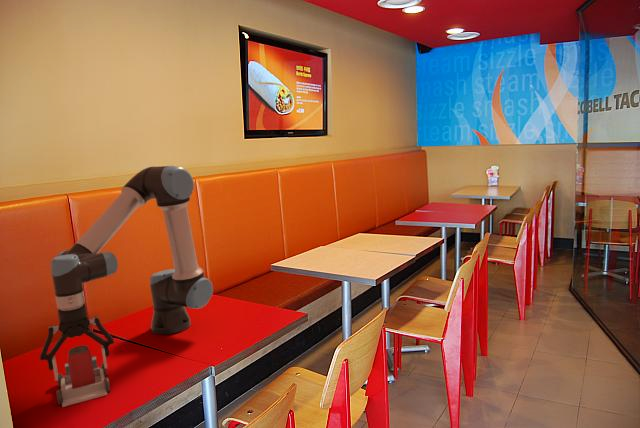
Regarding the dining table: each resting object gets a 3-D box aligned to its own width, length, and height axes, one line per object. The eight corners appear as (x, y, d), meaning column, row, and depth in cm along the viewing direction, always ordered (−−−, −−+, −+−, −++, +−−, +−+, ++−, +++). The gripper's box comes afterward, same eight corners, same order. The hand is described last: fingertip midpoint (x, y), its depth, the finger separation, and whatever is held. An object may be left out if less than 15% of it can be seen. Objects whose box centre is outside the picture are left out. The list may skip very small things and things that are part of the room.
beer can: (77, 381, 156) (71, 345, 154) (98, 379, 156) (93, 343, 154) (68, 392, 149) (62, 355, 147) (90, 390, 150) (85, 353, 148)
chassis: (58, 383, 157) (56, 366, 156) (106, 371, 164) (104, 354, 163) (58, 408, 142) (55, 389, 141) (110, 393, 149) (108, 375, 148)
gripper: (22, 319, 140) (34, 389, 143) (117, 301, 151) (126, 366, 154) (24, 312, 146) (35, 378, 150) (114, 294, 157) (123, 357, 161)
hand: (81, 372), depth 152 cm, fingers open, 13 cm apart
